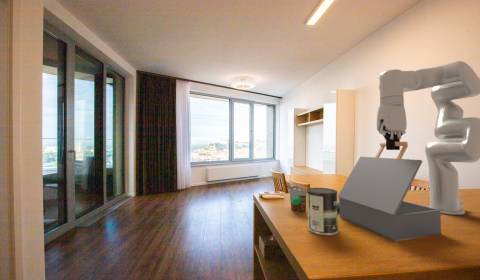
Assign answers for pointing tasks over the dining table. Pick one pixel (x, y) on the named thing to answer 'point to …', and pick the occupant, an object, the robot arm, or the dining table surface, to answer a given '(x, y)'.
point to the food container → (298, 199)
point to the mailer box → (394, 220)
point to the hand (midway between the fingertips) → (392, 149)
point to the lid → (381, 181)
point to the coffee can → (322, 211)
